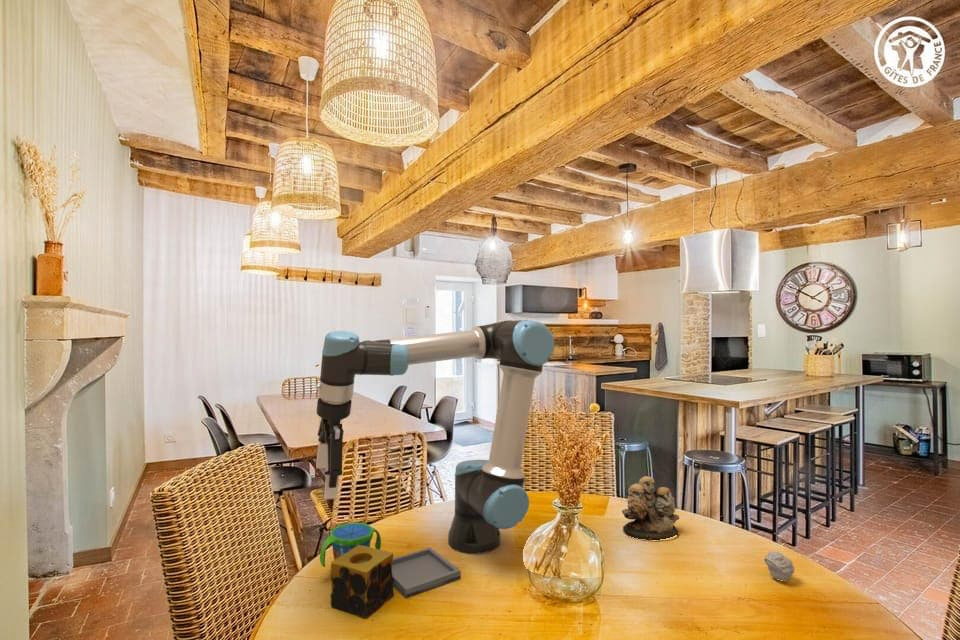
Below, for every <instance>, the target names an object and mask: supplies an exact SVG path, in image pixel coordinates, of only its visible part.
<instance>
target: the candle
mask: <svg viewBox="0 0 960 640" xmlns="http://www.w3.org/2000/svg"><path fill="white" fill-rule="evenodd" d="M393 558H394V552H391V551H387V550H382V549H380V550H379V549H376V548H375V547H371V546H370V547H367V546H362V545H358V546H356V547H355V548H353V549H351V550H350V551H348V552H347V553H345V554H344V555H342V556H340V557H339V558H337V559H336V560H334V559H333V561H331V564H330V579H331V583H330V584H331V593H330V607H332V608H334V609H337V610H340V611H342V612H345V613H348V614H351V615H355V616H358V617H361V618H365V619H366V618H368V617H369V616H372V614H373V613H375V612H376V611H377V610H378V609H380V608H381V607H382V606H383V605H384V604H385V602H386V601H388V600H390V599H391V598H392V597H393V596H394V595H395V594H394V586H393V581H394V580H393V575H392V564H393Z"/></svg>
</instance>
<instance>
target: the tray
mask: <svg viewBox="0 0 960 640" xmlns="http://www.w3.org/2000/svg"><path fill="white" fill-rule="evenodd" d="M461 571H462V570H461V569H460V568H458V567H457V566H455V565H454V564H453V563H452V562H450V561H449V560H447V559H446V558H445V557H444V556H442V555H441V554H440V553H438V552H437V551H436V550H435V549H433V548H431V547H430V546H429V547H426V548H422V549H420V550H416V551H412V552H410V553H406V554H403V555H400V556H396V557H393V564H392V575H393V580H394V581H393V588H395V589H396V590H397V591H398V592H399V593H400V594H401V595H402V597H404V598H405V599H407V598H410V597H413V596H416V595H420V594H422V593H424V592H427V591H431V590H433V589H435V588H439V587H441V586H445V585H447V584H450V583H452V582H456V581H458V580H461V579H462V578H461V574H462V573H461Z"/></svg>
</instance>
